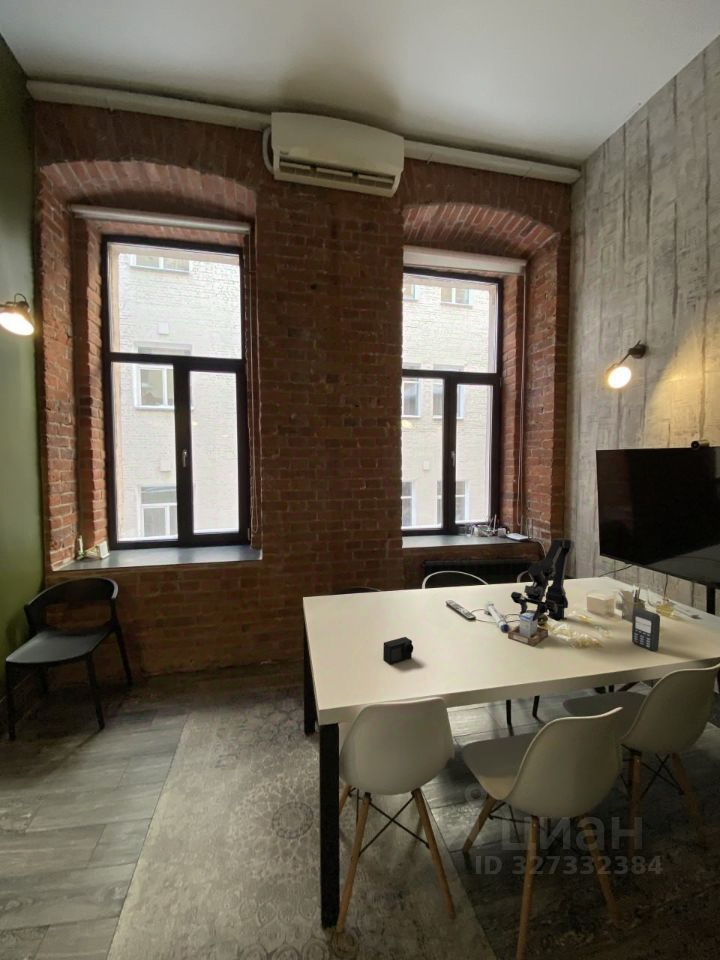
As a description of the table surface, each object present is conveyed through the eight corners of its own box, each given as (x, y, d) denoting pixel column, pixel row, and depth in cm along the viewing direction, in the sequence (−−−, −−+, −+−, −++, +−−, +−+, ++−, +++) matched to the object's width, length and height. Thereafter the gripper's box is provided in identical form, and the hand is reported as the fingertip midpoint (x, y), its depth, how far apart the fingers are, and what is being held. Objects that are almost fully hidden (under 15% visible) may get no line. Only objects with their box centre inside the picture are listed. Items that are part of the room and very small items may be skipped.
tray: (523, 628, 183) (523, 622, 183) (547, 636, 175) (548, 629, 175) (507, 638, 173) (507, 631, 172) (533, 646, 165) (533, 639, 165)
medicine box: (527, 629, 178) (527, 610, 178) (537, 632, 175) (537, 612, 175) (519, 634, 173) (520, 614, 173) (529, 637, 170) (530, 617, 169)
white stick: (499, 623, 179) (482, 597, 204) (498, 637, 180) (481, 609, 205) (511, 624, 179) (493, 597, 204) (510, 638, 180) (492, 610, 205)
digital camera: (391, 666, 147) (392, 647, 146) (383, 660, 151) (383, 642, 151) (413, 659, 152) (414, 641, 152) (404, 654, 157) (405, 636, 157)
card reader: (629, 643, 170) (631, 608, 169) (636, 641, 172) (637, 606, 171) (653, 652, 162) (654, 615, 161) (659, 650, 163) (660, 614, 163)
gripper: (513, 573, 182) (501, 603, 175) (556, 582, 169) (545, 615, 162) (520, 587, 188) (508, 616, 181) (562, 597, 175) (552, 629, 168)
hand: (527, 619), depth 173 cm, fingers closed on medicine box, 4 cm apart
